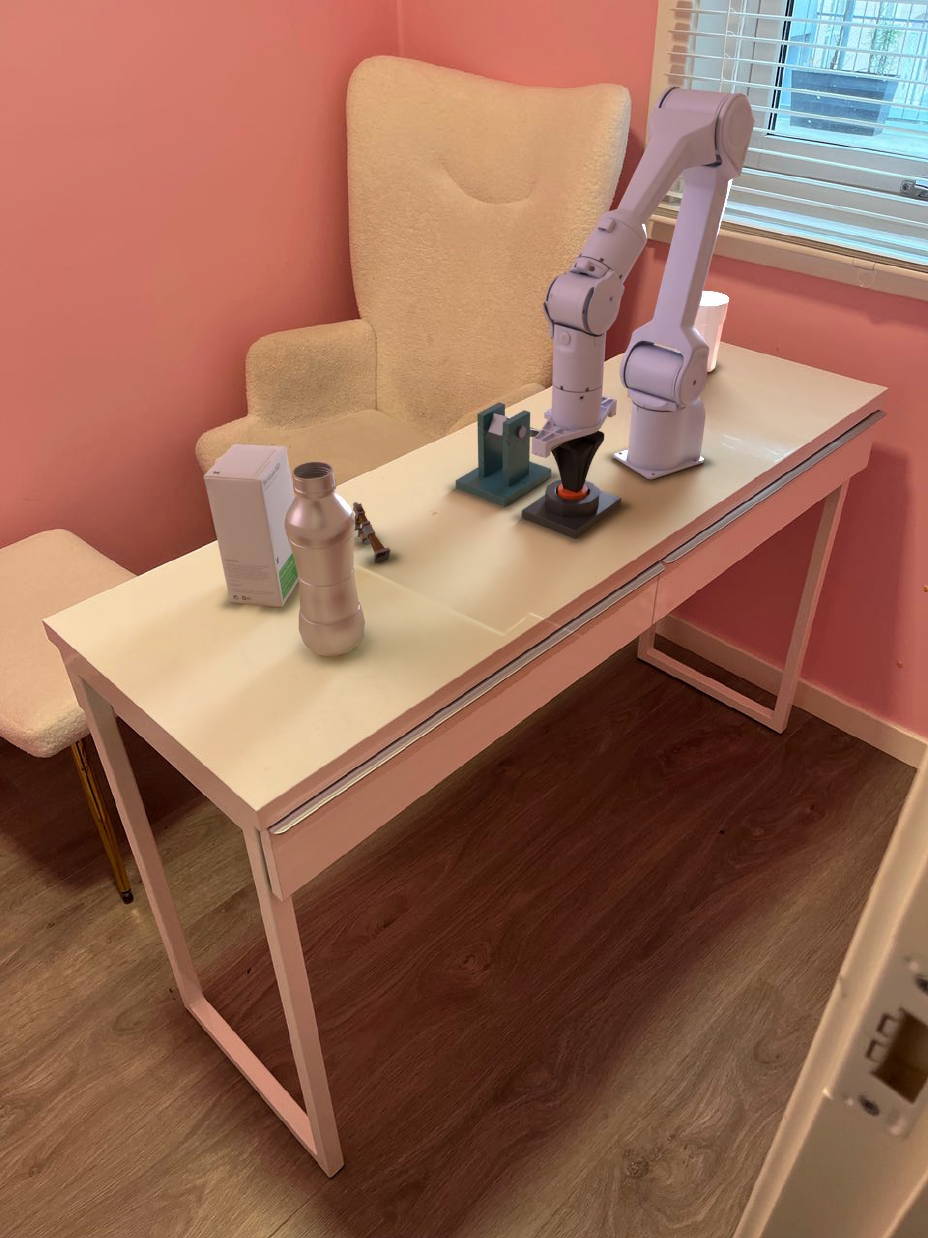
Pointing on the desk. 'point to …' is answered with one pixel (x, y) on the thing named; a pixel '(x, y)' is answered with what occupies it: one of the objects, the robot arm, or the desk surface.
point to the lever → (497, 426)
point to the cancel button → (572, 493)
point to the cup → (711, 322)
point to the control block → (571, 510)
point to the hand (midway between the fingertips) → (572, 488)
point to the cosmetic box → (253, 523)
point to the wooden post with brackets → (368, 533)
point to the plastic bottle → (324, 562)
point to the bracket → (503, 460)
